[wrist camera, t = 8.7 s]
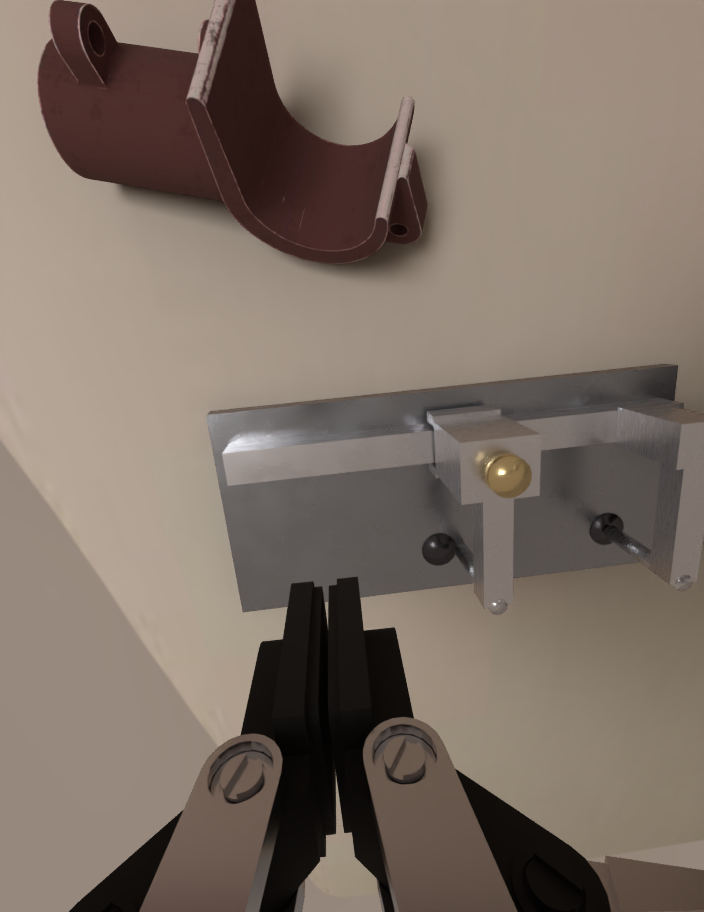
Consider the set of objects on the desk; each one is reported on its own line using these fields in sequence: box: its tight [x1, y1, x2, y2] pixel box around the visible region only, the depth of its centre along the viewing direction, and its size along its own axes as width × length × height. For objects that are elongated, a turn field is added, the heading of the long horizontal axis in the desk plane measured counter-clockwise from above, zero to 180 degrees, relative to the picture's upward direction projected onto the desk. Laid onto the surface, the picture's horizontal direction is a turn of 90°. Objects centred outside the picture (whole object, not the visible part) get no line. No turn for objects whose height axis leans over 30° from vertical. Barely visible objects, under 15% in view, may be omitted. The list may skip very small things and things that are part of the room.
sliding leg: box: [427, 405, 541, 615], centre depth 26 cm, size 4×10×8 cm, turn 6°
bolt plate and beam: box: [206, 364, 704, 612], centre depth 28 cm, size 30×14×8 cm, turn 95°
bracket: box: [37, 0, 427, 264], centre depth 21 cm, size 6×17×10 cm, turn 80°
